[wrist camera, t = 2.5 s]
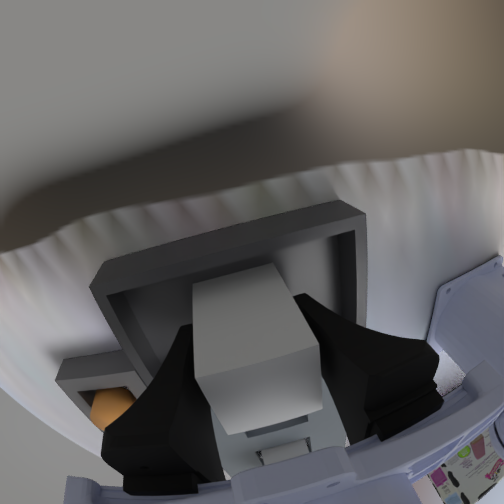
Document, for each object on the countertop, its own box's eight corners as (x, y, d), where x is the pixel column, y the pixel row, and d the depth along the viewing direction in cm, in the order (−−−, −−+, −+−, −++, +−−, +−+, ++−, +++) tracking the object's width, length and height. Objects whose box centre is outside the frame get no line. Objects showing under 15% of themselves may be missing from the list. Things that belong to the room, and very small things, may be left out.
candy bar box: (399, 432, 29) (449, 519, 14) (409, 414, 27) (468, 509, 12) (456, 399, 30) (508, 470, 15) (468, 379, 28) (527, 453, 13)
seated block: (301, 429, 22) (320, 482, 17) (303, 445, 24) (321, 492, 18) (258, 441, 22) (272, 496, 16) (265, 456, 24) (279, 504, 18)
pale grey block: (273, 262, 14) (319, 343, 8) (284, 324, 16) (322, 408, 10) (192, 284, 14) (195, 377, 8) (214, 343, 15) (227, 435, 10)
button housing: (139, 346, 15) (134, 370, 13) (175, 404, 18) (176, 426, 16) (63, 359, 15) (54, 380, 13) (106, 412, 17) (103, 432, 16)
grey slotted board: (346, 344, 18) (353, 355, 17) (340, 440, 25) (344, 448, 24) (173, 391, 17) (172, 405, 16) (232, 470, 24) (233, 479, 23)
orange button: (125, 382, 15) (121, 407, 13) (146, 409, 16) (145, 433, 14) (87, 386, 14) (80, 410, 13) (109, 413, 16) (106, 436, 14)
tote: (340, 199, 14) (365, 213, 12) (346, 323, 17) (364, 348, 15) (104, 261, 13) (88, 286, 11) (161, 374, 16) (160, 404, 14)
